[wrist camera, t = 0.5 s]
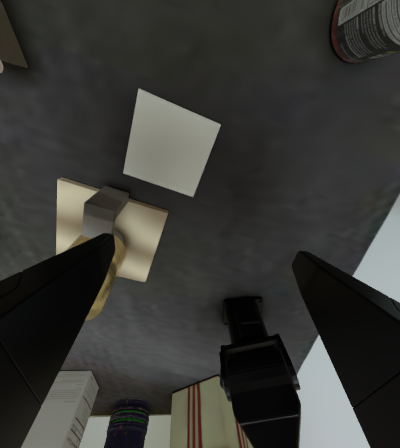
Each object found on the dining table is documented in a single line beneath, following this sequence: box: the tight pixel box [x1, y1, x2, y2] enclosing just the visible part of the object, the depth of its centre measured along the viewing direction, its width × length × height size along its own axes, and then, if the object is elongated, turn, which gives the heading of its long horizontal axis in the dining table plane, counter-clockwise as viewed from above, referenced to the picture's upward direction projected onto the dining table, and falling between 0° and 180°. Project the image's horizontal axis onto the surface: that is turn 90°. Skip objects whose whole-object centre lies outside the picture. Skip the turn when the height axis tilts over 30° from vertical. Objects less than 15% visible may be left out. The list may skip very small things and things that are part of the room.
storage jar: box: [104, 398, 150, 448], centre depth 46 cm, size 10×10×15 cm
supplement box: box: [21, 371, 99, 448], centre depth 37 cm, size 9×9×15 cm
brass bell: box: [67, 235, 126, 321], centre depth 19 cm, size 10×6×7 cm, turn 159°
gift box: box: [170, 376, 253, 448], centre depth 43 cm, size 17×18×17 cm
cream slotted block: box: [56, 177, 169, 282], centre depth 22 cm, size 14×12×5 cm
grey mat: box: [123, 89, 221, 197], centre depth 20 cm, size 8×8×1 cm
